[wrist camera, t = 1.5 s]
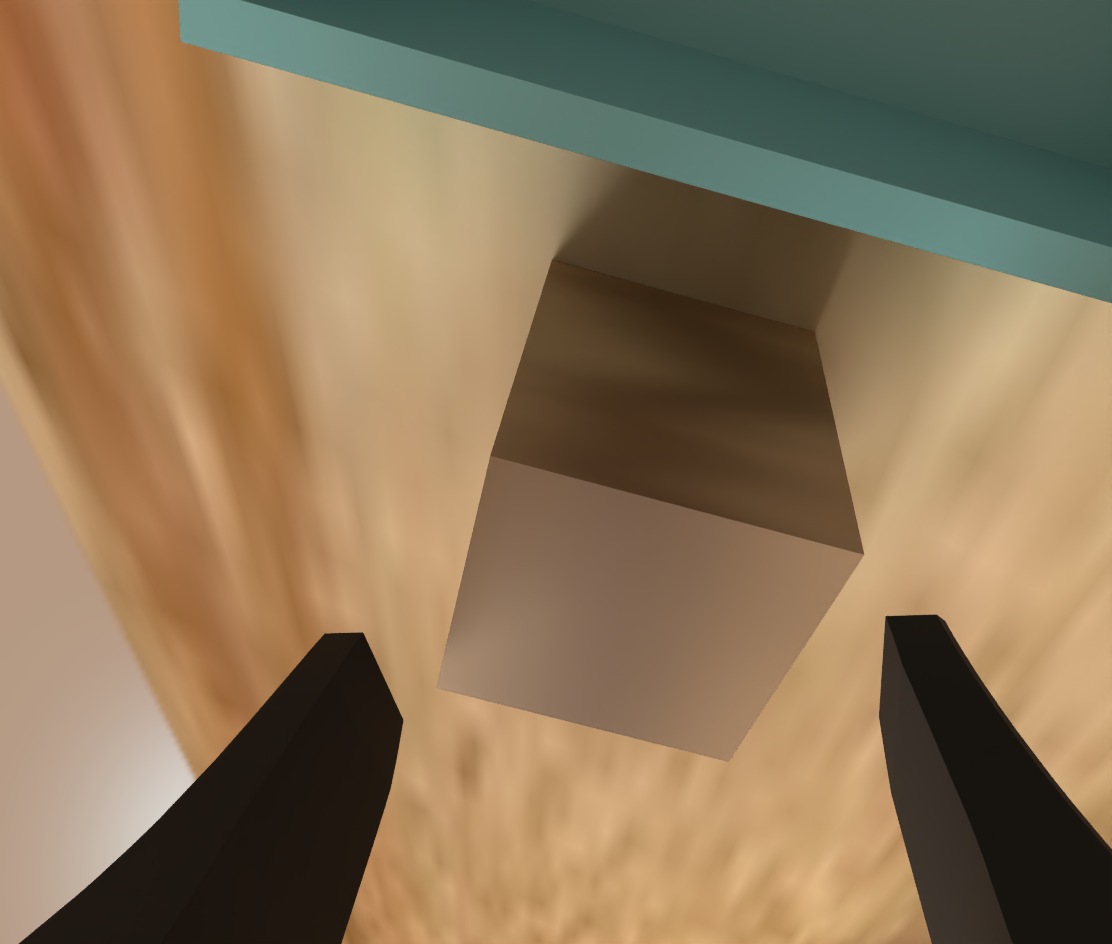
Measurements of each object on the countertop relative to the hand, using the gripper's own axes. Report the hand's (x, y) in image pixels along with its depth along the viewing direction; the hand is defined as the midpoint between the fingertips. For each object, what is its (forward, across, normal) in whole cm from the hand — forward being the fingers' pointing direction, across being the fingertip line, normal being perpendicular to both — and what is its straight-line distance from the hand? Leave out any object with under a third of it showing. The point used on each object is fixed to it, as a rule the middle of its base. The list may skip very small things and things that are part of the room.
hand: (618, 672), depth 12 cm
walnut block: (+7, 0, 0) cm, 7 cm away
